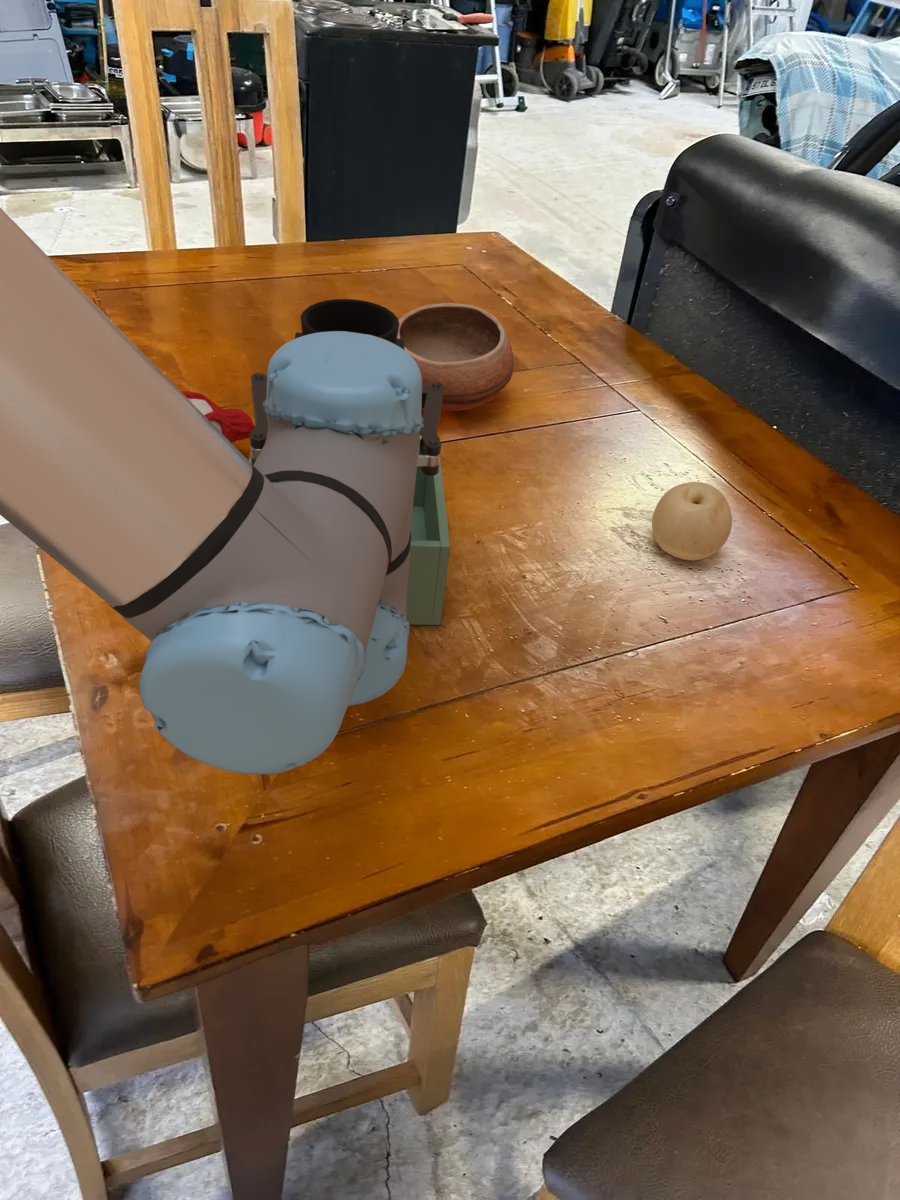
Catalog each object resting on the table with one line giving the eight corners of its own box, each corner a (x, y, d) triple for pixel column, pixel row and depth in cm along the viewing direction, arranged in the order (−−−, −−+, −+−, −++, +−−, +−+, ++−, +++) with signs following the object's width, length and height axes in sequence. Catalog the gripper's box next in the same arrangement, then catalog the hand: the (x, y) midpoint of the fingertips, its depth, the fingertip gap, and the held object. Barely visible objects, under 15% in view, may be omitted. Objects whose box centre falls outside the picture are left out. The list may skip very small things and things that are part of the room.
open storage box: (240, 620, 78) (234, 539, 72) (259, 503, 91) (255, 426, 85) (440, 625, 80) (450, 546, 74) (429, 510, 93) (437, 435, 87)
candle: (90, 458, 93) (220, 436, 102) (138, 511, 87) (271, 482, 96) (86, 377, 87) (223, 361, 97) (136, 428, 81) (277, 406, 90)
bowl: (359, 405, 108) (362, 327, 101) (417, 357, 119) (423, 284, 112) (476, 444, 103) (487, 365, 97) (525, 390, 115) (537, 317, 108)
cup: (370, 484, 73) (376, 349, 66) (287, 460, 75) (283, 325, 67) (404, 440, 79) (413, 311, 71) (325, 420, 80) (326, 291, 73)
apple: (732, 535, 94) (759, 506, 87) (684, 586, 92) (708, 560, 85) (676, 487, 95) (698, 455, 88) (628, 536, 93) (646, 507, 86)
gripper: (192, 545, 60) (230, 383, 77) (489, 554, 63) (463, 395, 80) (180, 450, 55) (224, 300, 72) (504, 464, 58) (473, 316, 75)
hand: (349, 350), depth 76 cm, fingers closed on cup, 8 cm apart
